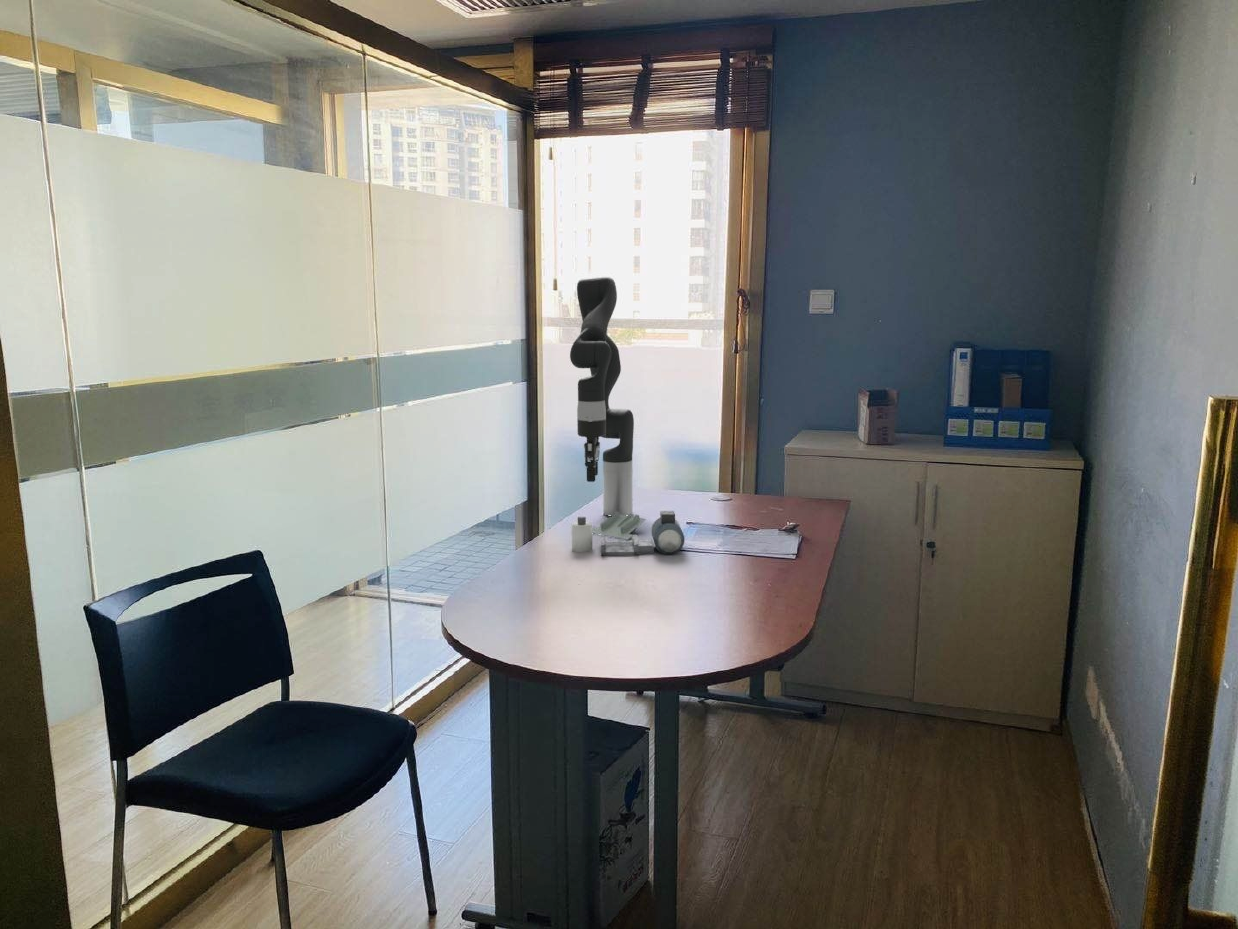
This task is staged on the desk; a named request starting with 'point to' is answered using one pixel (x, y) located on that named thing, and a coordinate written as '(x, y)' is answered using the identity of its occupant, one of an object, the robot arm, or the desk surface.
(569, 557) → the desk surface
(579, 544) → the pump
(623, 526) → the metal bracket
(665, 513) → the motor
